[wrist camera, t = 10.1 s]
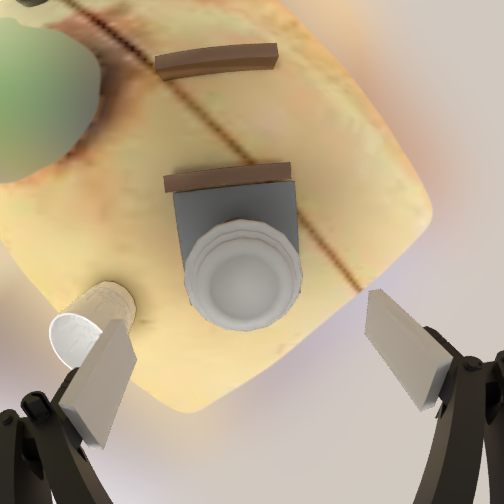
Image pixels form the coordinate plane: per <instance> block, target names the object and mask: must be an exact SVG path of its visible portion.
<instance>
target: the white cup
mask: <svg viewBox="0 0 504 504" xmlns="http://www.w3.org/2000/svg"><path fill="white" fill-rule="evenodd" d="M135 313H136V307H135V303H134V300H133V297H132V296H131V295H130V294H129V292H128V291H127V290H126V289H125V288H124V287H122V286H121V285H119V284H117V283H115V282H108V281H103V282H101V283H99V284H96V285H95V286H93V287H92V288H91V289H90V290H88V291H86V292H85V293H84V294H82V295H81V296H80V297H78V298H77V299H76V300H75V301H73V302H72V303H71V304H70V305H69V306H68V307H66V308H65V309H64V310H63V311H62V312H61V313H59V314H58V315H57V316H56V317H55V318H54V319H53V320H52V322H51V324H50V328H49V337H50V342H51V345H52V347H53V349H54V351H55V353H56V354H57V356H58V357H59V358H60V359H61V361H62V362H63V363H64V364H65V365H66V366H68V367H69V368H70V369H71V370H73V369H74V368H75V367H80V366H81V365H82V363H83V361H84V360H85V358H86V357H87V355H88V353H89V352H90V350H91V349H92V347H93V346H94V344H95V342H96V341H97V339H98V338H99V336H100V335H101V333H102V332H103V330H104V329H105V327H106V326H107V324H108V323H109V321H110V320H111V319H123V320H124V323H125V326H126V329H127V332H128V334H129V331H130V328H131V325H132V323H133V321H134V319H135Z"/></svg>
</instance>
